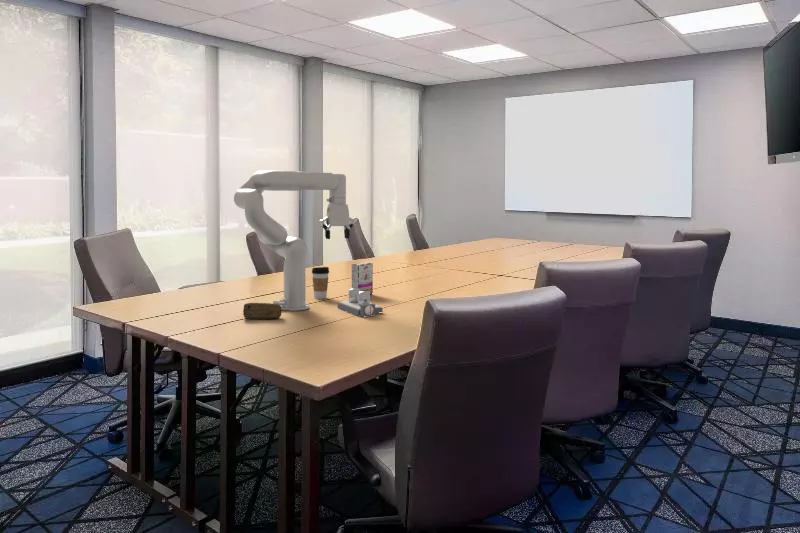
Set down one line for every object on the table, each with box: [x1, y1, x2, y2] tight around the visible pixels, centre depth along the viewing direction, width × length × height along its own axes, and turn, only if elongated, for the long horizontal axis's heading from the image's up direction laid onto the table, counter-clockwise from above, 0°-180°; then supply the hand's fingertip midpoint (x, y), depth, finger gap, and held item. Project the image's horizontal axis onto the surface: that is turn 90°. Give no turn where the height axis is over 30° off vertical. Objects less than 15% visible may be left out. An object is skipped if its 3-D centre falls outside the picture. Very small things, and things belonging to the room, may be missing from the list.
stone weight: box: [242, 302, 282, 320], centre depth 240 cm, size 15×7×7 cm, turn 100°
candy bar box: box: [351, 261, 374, 295], centre depth 296 cm, size 11×5×16 cm, turn 143°
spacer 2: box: [358, 291, 371, 306], centre depth 256 cm, size 5×5×6 cm
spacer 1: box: [348, 287, 360, 303], centre depth 263 cm, size 5×5×6 cm
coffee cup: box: [311, 266, 330, 300], centre depth 288 cm, size 8×8×15 cm
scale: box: [337, 300, 384, 318], centre depth 258 cm, size 12×22×5 cm, turn 33°
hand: (337, 238), depth 272 cm, fingers open, 9 cm apart
